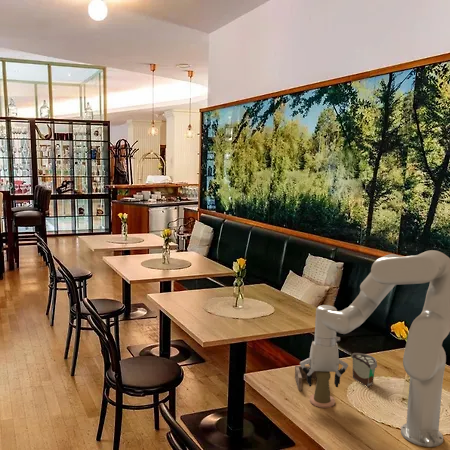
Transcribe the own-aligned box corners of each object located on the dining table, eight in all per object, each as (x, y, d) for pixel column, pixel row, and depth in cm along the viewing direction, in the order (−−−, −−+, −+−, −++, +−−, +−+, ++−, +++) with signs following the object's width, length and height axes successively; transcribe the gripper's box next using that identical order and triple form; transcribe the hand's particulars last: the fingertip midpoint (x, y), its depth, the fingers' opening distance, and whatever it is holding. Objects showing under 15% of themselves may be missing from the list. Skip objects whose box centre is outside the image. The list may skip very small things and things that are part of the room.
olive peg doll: (333, 402, 172) (335, 373, 171) (318, 404, 170) (319, 374, 169) (325, 394, 178) (326, 366, 176) (310, 396, 176) (312, 368, 175)
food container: (382, 386, 187) (384, 362, 186) (369, 389, 185) (371, 364, 184) (362, 374, 199) (364, 351, 197) (350, 376, 196) (351, 352, 195)
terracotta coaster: (337, 408, 170) (337, 405, 170) (311, 407, 170) (311, 404, 170) (331, 396, 179) (332, 393, 179) (307, 395, 179) (308, 392, 179)
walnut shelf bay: (327, 391, 183) (327, 378, 182) (298, 390, 183) (299, 377, 182) (321, 378, 194) (322, 366, 193) (294, 377, 194) (295, 365, 193)
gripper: (346, 336, 175) (344, 381, 177) (299, 335, 175) (297, 380, 177) (351, 344, 168) (349, 390, 170) (302, 343, 168) (300, 389, 170)
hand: (322, 385), depth 174 cm, fingers open, 9 cm apart
